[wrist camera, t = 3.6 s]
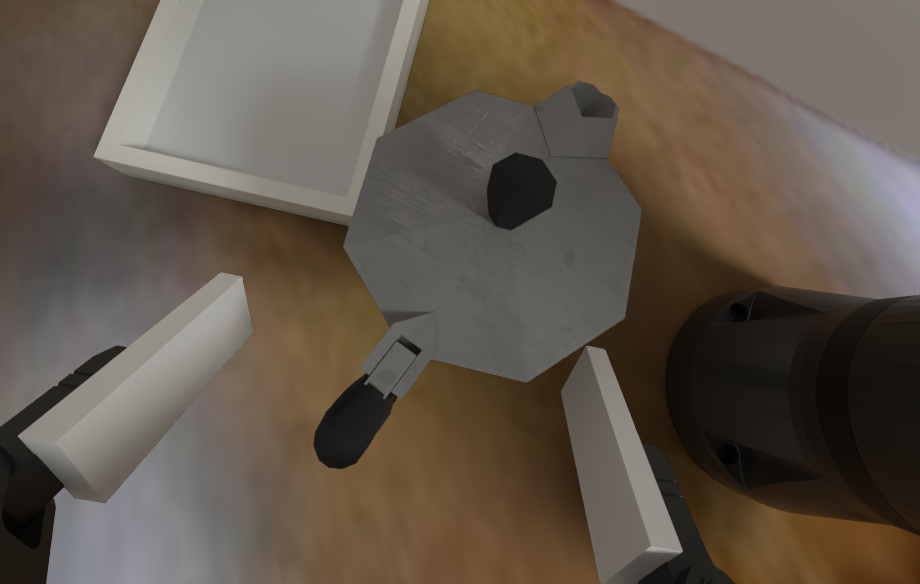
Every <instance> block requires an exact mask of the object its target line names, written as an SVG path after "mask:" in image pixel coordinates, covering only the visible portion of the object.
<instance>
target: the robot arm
mask: <svg viewBox="0 0 920 584" xmlns="http://www.w3.org/2000/svg"><path fill="white" fill-rule="evenodd" d="M252 332H253V331H252V326H251V321H250V315H249V310H248V305H247V300H246V295H245V290H244V285H243V279H242V277H241V276H236V275H231V274H226V273H219V274H218V275H217V276H216V277H215V278H213V279H212V280H211V281H210V282H208V283H207V284H206V285H205V286H203V287H202V288H201V289H200V290H198V291H197V292H196V293H195V294H193V295H192V296H191V297H190V298H188V299H187V300H186V301H185V302H183V303H182V304H181V305H180V306H178V307H177V308H176V309H175V310H174V311H172V312H171V313H170V314H169V315H167V316H166V317H165V318H164V319H162V320H161V321H160V322H159V323H157V324H156V325H155V326H154V327H152V328H151V329H150V330H149V331H147V332H146V333H145V334H144V335H142V336H141V337H140V338H139V339H137V340H136V341H135V342H134V343H132V344H131V345H130V346H129V347H123V346H115V347H112V348H110V349H108V350H106V351H104V352H102V353H100V354H98V355H95V356H93V357H92V358H91V359H89V360H88V361H87V362H85V363H84V364H83V365H81V366H80V367H79V368H77V369H76V370H75V371H74V373H73V374H70V375H68V376H67V377H66V378H64V379H63V380H62V381H60V382H59V384H58V386H54V387H52V388H51V389H50V390H48V391H47V392H46V393H44V394H43V395H42V396H41V397H39V398H38V399H37V400H35V401H34V402H33V403H31V404H30V405H29V406H27V407H26V408H25V409H23V410H22V411H21V412H19V413H18V414H17V415H15V416H14V417H13V418H11V419H10V420H9V421H8V422H6V423H5V424H4V425H2V426H1V427H0V584H46V580H47V572H48V564H49V556H50V548H51V541H52V533H53V525H54V517H55V509H56V506H55V501H54V499H53V498H54V496H55V495H56V494H57V493H58V492H59V491H60V490H61V489H62V488H63V487H65V488H66V489H67V491H68V492H69V493H70V494H71V495H72V496H73V497H74V498H77V499H83V500H89V501H95V502H101V503H106V502H107V501H108V500H109V499H110V497H111V496H112V495H113V494H114V493H115V492H116V491H117V489H118V488H119V487H120V486H121V485H122V484H123V482H124V481H125V480H126V479H127V478H128V477H129V475H130V474H131V473H132V472H133V471H134V470H135V468H136V467H137V466H138V465H139V464H140V463H141V461H142V460H143V459H144V458H145V457H146V456H147V454H148V453H149V452H150V451H151V450H152V449H153V448H154V446H155V445H156V444H157V443H158V442H159V441H160V439H161V438H162V437H163V436H164V435H165V434H166V432H167V431H168V430H169V429H170V428H171V427H172V425H173V424H174V423H175V422H176V421H177V420H178V418H179V417H180V416H181V415H182V414H183V413H184V411H185V410H186V409H187V408H188V407H189V406H190V405H191V403H192V402H193V401H194V400H195V399H196V398H197V396H198V395H199V394H200V393H201V392H202V391H203V389H204V388H205V387H206V386H207V385H208V384H209V382H210V381H211V380H212V379H213V378H214V377H215V375H216V374H217V373H218V372H219V371H220V370H221V368H222V367H223V366H224V365H225V364H226V363H227V362H228V360H229V359H230V358H231V357H232V356H233V355H234V353H235V352H236V351H237V350H238V349H239V348H240V346H241V345H242V344H243V343H244V342H245V341H246V339H247V338H248V337H249V336H250V335H251V334H252ZM667 391H668V399H669V405H670V410H671V413H672V417H673V420H674V423H675V425H676V428H677V430H678V433H679V435H680V437H681V439H682V440H683V442H684V444H685V446H686V447H687V449H688V450H689V452H690V453H691V455H692V456H693V457H694V458H695V460H696V461H697V462H698V463H699V464H700V465H701V467H702V468H703V469H704V470H705V471H706V472H708V473H709V474H710V475H711V476H712V477H713V478H715V479H716V480H717V481H719V482H720V483H721V484H723V485H725V486H726V487H728V488H730V489H732V490H734V491H736V492H738V493H740V494H742V495H744V496H746V497H748V498H750V499H753V500H755V501H757V502H759V503H761V504H764V505H766V506H769V507H772V508H775V509H778V510H781V511H786V512H790V513H796V514H804V515H812V516H820V517H828V518H836V519H844V520H852V521H860V522H868V523H876V524H884V525H892V526H895V527H898V528H901V529H904V530H906V531H909V532H911V533H914V534H917V535H919V536H920V295H914V296H905V297H895V298H886V299H871V298H864V297H856V296H849V295H842V294H834V293H827V292H819V291H812V290H805V289H797V288H790V287H760V288H754V289H748V290H743V291H737V292H732V293H728V294H725V295H722V296H719V297H717V298H715V299H713V300H711V301H709V302H707V303H706V304H704V305H703V306H702V307H700V308H699V309H698V310H697V311H696V312H695V313H694V314H693V315H692V316H691V317H690V318H689V319H688V320H687V321H686V323H685V324H684V326H683V327H682V329H681V330H680V332H679V334H678V336H677V338H676V340H675V342H674V345H673V348H672V351H671V354H670V359H669V364H668V372H667ZM561 396H562V401H563V405H564V410H565V415H566V420H567V425H568V430H569V435H570V439H571V444H572V449H573V454H574V459H575V464H576V469H577V474H578V478H579V483H580V488H581V493H582V498H583V503H584V508H585V513H586V517H587V522H588V527H589V532H590V537H591V542H592V547H593V551H594V556H595V561H596V566H597V571H598V576H599V581H600V584H637V583H638V584H735V583H734V582H733V581H732V580H731V579H730V578H729V577H728V576H727V575H726V574H725V573H724V572H723V571H721V570H720V569H718V568H717V567H715V566H714V564H713V563H712V561H711V559H710V557H709V555H708V553H707V551H706V548H705V546H704V544H703V541H702V539H701V537H700V534H699V532H698V530H697V527H696V525H695V523H694V521H693V518H692V516H691V514H690V511H689V509H688V507H687V504H686V502H685V500H684V499H683V498H682V493H681V491H680V488H679V486H678V484H676V479H675V477H674V474H673V472H672V470H671V467H670V465H669V463H668V461H667V460H666V459H665V458H664V456H663V455H662V454H661V452H660V451H659V450H658V448H657V447H656V446H654V445H649V444H643V443H641V441H640V438H639V436H638V433H637V431H636V428H635V425H634V423H633V420H632V418H631V415H630V413H629V410H628V407H627V405H626V402H625V400H624V397H623V394H622V392H621V389H620V387H619V384H618V381H617V379H616V376H615V374H614V371H613V368H612V366H611V363H610V361H609V358H608V355H607V353H606V350H605V349H601V348H596V347H591V346H586V347H585V348H584V350H583V352H582V354H581V356H580V357H579V359H578V361H577V363H576V365H575V367H574V368H573V370H572V372H571V374H570V376H569V377H568V379H567V381H566V383H565V385H564V387H563V388H562V390H561Z"/></svg>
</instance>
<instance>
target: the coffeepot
mask: <svg viewBox="0 0 920 584" xmlns="http://www.w3.org/2000/svg"><path fill="white" fill-rule="evenodd" d="M618 111H619V108H618V107H617V105H616V103H615V102H614V101H613V100H612V99H611V97H609V96H607V95H603V94H602V93H600V92H599V91H598V89H597V88H596V87H595V86H594V85H591V84H589V83H586V82H582V81H578V82H576V83H575V84H573V85H572V86H570V85H568V86H567V87H565V88H563V89H562V90H560V91H558V92H556V93H555V94H553V95H551V96H549V97H548V98H546V99H544V100H542V101H541V102H539V103H537V104H535V105H534V106H532V105H528V104H524V103H521V102H517V101H513V100H510V99H506V98H503V97H499V96H495V95H492V94H488V93H485V92H481V91H477V90H473V91H471V92H469V93H467V94H465V95H463V96H461V97H459V98H457V99H455V100H453V101H451V102H449V103H447V104H445V105H443V106H441V107H439V108H437V109H435V110H433V111H431V112H429V113H427V114H425V115H423V116H421V117H419V118H417V119H415V120H413V121H411V122H409V123H407V124H404V125H402V126H400V127H398V128H396V129H394V130H392V131H390V132H388V133H386V134H384V135H382V136H380V137H378V138H377V140H376V143H375V146H374V149H373V152H372V155H371V159H370V162H369V165H368V168H367V171H366V175H365V178H364V181H363V184H362V187H361V190H360V194H359V197H358V200H357V203H356V206H355V210H354V213H353V216H352V219H351V222H350V225H349V229H348V232H347V235H346V238H345V241H344V245H343V247H344V249H345V251H346V252H347V254H348V256H349V258H350V259H351V261H352V263H353V264H354V266H355V268H356V270H357V271H358V273H359V275H360V276H361V278H362V280H363V282H364V283H365V285H366V287H367V289H368V290H369V292H370V294H371V295H372V297H373V299H374V301H375V302H376V304H377V306H378V307H379V309H380V311H381V313H382V314H383V316H384V318H385V320H386V321H387V323H388V325H389V326H390V329H389V330H388V331H387V333H386V334H385V335H384V336H383V338H382V339H381V340H380V342H379V343H378V344H377V345H376V347H375V348H374V349H373V351H372V352H371V353H370V355H369V356H368V357H367V358H366V360H365V361H364V362H363V364H362V365H361V366H360V367H359V368H360V369H362V370H363V371H364V372H366V374H365V375H363V376H362V377H361V378H359V379H358V380H357V381H356V382H354V383H353V384H352V385H351V386H350V387H348V388H347V389H346V390H345V391H344V392H343V393H342V394H341V396H340V397H339V398H338V399H337V400H336V401H335V403H334V404H333V405H332V406H331V407H330V408H329V409H328V410H327V411H326V413H325V415H324V417H323V419H322V420H321V422H320V424H319V426H318V428H317V430H316V431H315V437H314V448H315V451H316V454H317V456H318V459H319V461H321V462H322V463H323V464H325V465H326V466H327V467H328V468H337V469H343V468H346V467H348V466H351V465H353V464H355V463H357V461H358V460H359V458H360V457H361V456H362V454H363V453H364V452H365V450H366V449H367V448H368V446H369V445H370V443H371V441H372V440H373V438H374V436H375V434H376V433H377V432H378V430H379V429H380V428H381V426H382V425H383V423H384V422H385V421H386V419H387V418H388V416H389V415H390V413H391V409H392V406H393V403H394V402H395V401H396V399H397V396H398V397H399V398H400V399H402V398H403V397H404V395H405V394H406V393H407V391H408V390H409V389H410V387H411V386H412V385H413V383H414V382H415V380H416V379H417V378H418V376H419V375H420V374H421V372H422V371H423V370H424V368H425V367H426V365H427V364H428V363H429V361H430V360H431V359H432V360H437V361H441V362H445V363H449V364H453V365H457V366H461V367H465V368H469V369H473V370H477V371H481V372H485V373H489V374H494V375H498V376H502V377H506V378H510V379H514V380H518V381H522V382H526V383H527V382H529V381H530V380H532V379H533V378H535V377H536V376H538V375H539V374H541V373H542V372H544V371H545V370H547V369H548V368H550V367H551V366H553V365H554V364H556V363H557V362H559V361H561V360H562V359H564V358H565V357H567V356H568V355H570V354H571V353H573V352H574V351H576V350H577V349H579V348H580V347H582V346H583V345H585V344H586V343H588V342H589V341H591V340H593V339H594V338H596V337H597V336H599V335H600V334H602V333H603V332H605V331H606V330H608V329H609V328H611V327H612V326H614V325H615V324H617V323H618V322H620V321H621V320H623V319H624V318H625V314H626V307H627V301H628V295H629V289H630V282H631V276H632V270H633V264H634V257H635V251H636V245H637V239H638V232H639V226H640V220H641V214H642V208H641V207H640V205H639V204H638V203H637V201H636V200H635V198H634V197H633V195H632V194H631V192H630V191H629V189H628V188H627V186H626V185H625V184H624V182H623V181H622V179H621V178H620V176H619V175H618V173H617V172H616V170H615V169H614V167H613V166H612V165H611V163H610V162H609V160H608V156H609V152H610V148H611V144H612V140H613V136H614V131H615V127H616V123H617V119H616V118H617V115H618Z"/></svg>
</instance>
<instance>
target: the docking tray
mask: <svg viewBox="0 0 920 584" xmlns="http://www.w3.org/2000/svg"><path fill="white" fill-rule="evenodd" d="M428 3H429V0H160V3H159V5H158V7H157V10H156V12H155V14H154V17H153V19H152V21H151V24H150V26H149V28H148V31H147V33H146V35H145V38H144V40H143V42H142V45H141V47H140V49H139V52H138V54H137V56H136V59H135V61H134V63H133V66H132V68H131V70H130V73H129V75H128V77H127V79H126V82H125V84H124V86H123V89H122V91H121V93H120V96H119V98H118V100H117V103H116V105H115V107H114V110H113V112H112V114H111V117H110V119H109V121H108V124H107V126H106V128H105V131H104V133H103V135H102V138H101V140H100V142H99V145H98V147H97V149H96V152H95V154H94V156H93V157H94V158H96V159H98V160H100V161H102V162H103V163H105V164H107V165H109V166H110V167H112V168H114V169H116V170H118V171H119V172H121V173H123V174H125V175H126V176H130V177H135V178H139V179H144V180H148V181H152V182H157V183H161V184H165V185H170V186H174V187H179V188H183V189H187V190H192V191H196V192H201V193H205V194H209V195H214V196H218V197H223V198H227V199H231V200H236V201H240V202H244V203H249V204H253V205H258V206H262V207H266V208H271V209H275V210H280V211H284V212H288V213H293V214H297V215H301V216H306V217H310V218H315V219H319V220H323V221H328V222H332V223H337V224H341V225H345V226H349V225H350V222H351V219H352V216H353V213H354V210H355V206H356V203H357V200H358V197H359V194H360V190H361V187H362V184H363V181H364V178H365V175H366V171H367V168H368V165H369V162H370V159H371V155H372V152H373V149H374V146H375V143H376V140H377V138H378V137H380V136H382V135H384V134H386V133H388V132H390V131H392V130H394V129H395V125H396V122H397V118H398V114H399V111H400V107H401V103H402V99H403V96H404V92H405V88H406V85H407V81H408V77H409V74H410V70H411V66H412V62H413V59H414V55H415V51H416V48H417V44H418V40H419V37H420V33H421V29H422V25H423V22H424V18H425V14H426V11H427V7H428Z"/></svg>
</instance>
